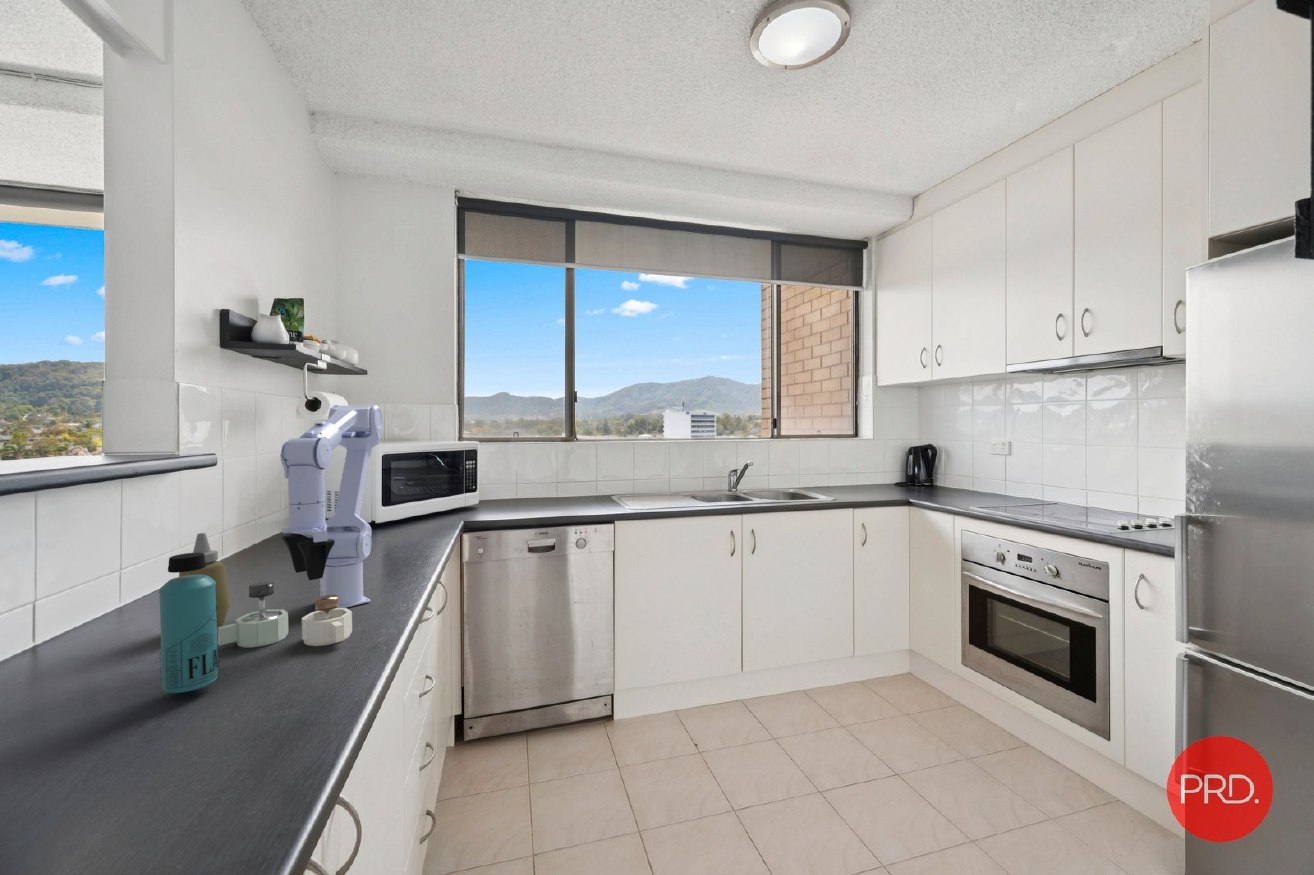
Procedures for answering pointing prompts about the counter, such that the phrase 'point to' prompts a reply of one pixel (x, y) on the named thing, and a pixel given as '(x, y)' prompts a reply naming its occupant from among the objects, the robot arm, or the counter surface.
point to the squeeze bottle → (213, 576)
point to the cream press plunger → (326, 604)
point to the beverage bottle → (188, 627)
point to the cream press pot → (326, 627)
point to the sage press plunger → (261, 600)
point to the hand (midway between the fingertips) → (308, 575)
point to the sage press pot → (255, 630)
